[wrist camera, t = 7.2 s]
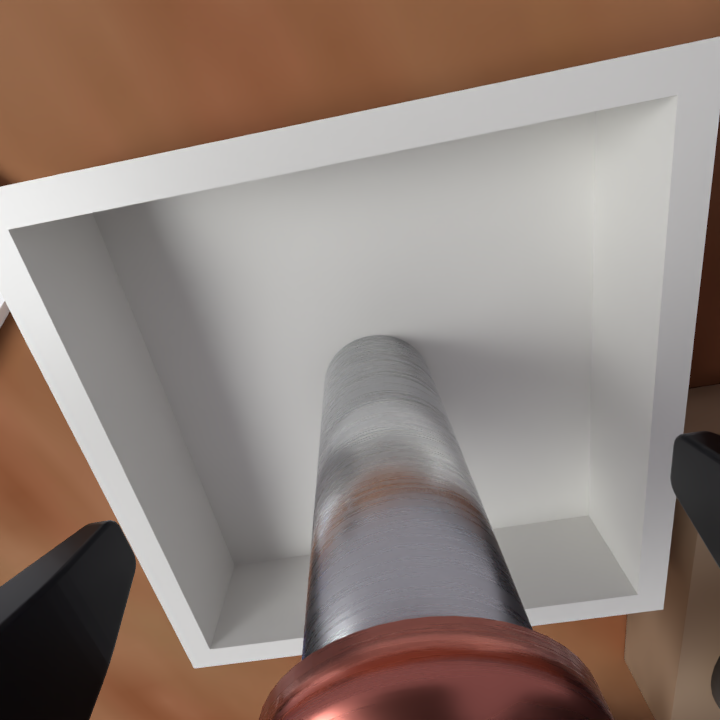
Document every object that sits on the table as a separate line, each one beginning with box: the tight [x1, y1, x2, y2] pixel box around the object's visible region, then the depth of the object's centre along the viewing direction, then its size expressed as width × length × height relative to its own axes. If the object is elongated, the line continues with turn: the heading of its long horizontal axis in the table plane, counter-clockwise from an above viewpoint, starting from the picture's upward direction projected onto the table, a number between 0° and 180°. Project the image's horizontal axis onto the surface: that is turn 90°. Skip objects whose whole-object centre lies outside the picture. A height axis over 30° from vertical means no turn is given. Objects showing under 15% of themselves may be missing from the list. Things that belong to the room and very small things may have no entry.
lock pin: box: [259, 335, 614, 720], centre depth 8 cm, size 3×3×8 cm
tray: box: [0, 37, 720, 668], centre depth 10 cm, size 11×11×3 cm
